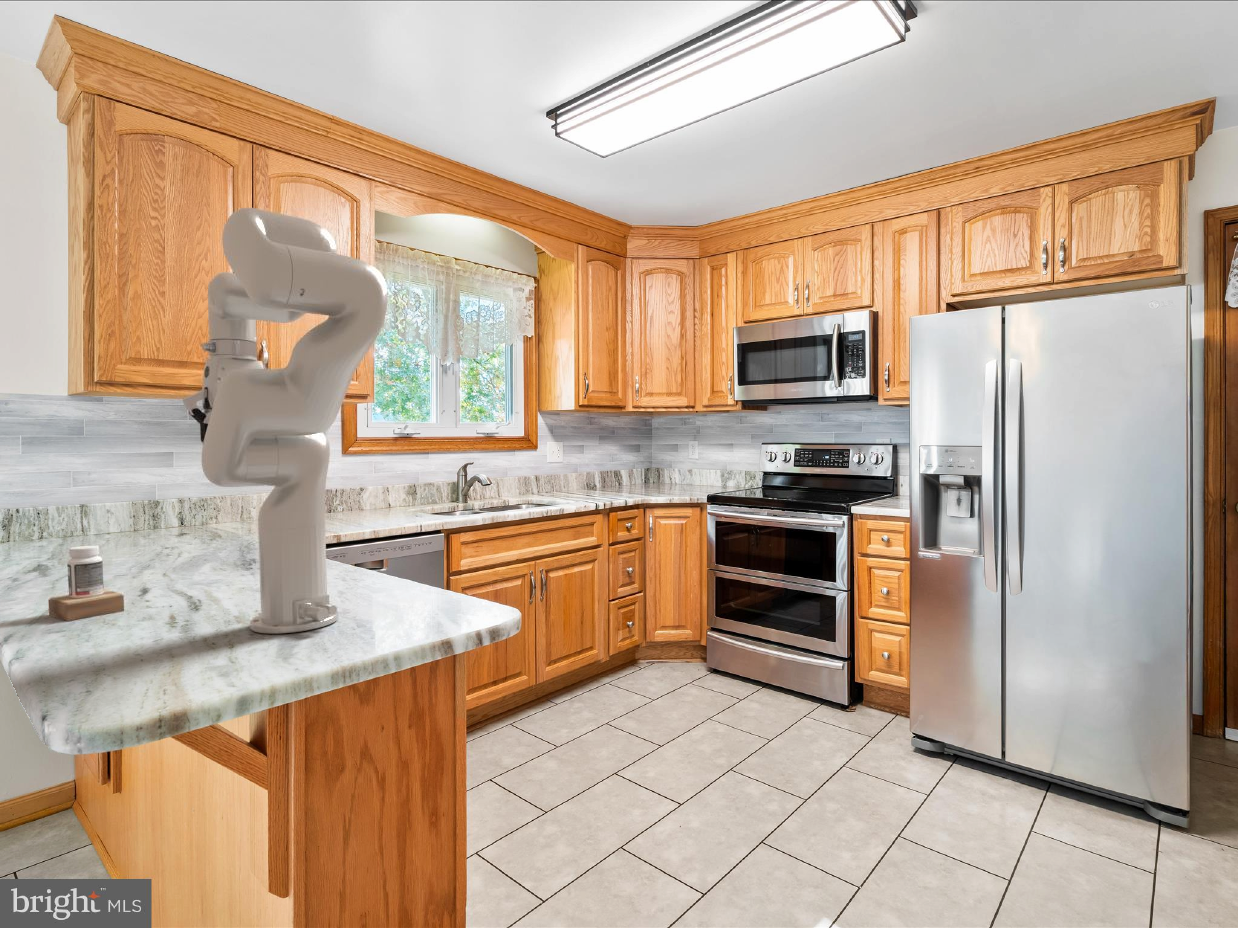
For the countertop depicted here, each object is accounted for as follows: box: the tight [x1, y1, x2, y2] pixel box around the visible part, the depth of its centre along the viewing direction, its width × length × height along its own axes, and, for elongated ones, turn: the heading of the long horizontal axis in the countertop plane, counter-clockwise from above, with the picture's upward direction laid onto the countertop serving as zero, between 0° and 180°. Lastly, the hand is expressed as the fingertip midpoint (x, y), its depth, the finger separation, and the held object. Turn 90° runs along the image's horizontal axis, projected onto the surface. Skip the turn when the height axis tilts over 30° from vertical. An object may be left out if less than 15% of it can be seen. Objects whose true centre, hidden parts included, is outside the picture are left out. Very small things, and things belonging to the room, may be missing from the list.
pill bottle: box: [67, 545, 104, 598], centre depth 116 cm, size 5×5×8 cm
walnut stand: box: [47, 589, 125, 622], centre depth 116 cm, size 8×8×3 cm
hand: (236, 446), depth 124 cm, fingers open, 9 cm apart
